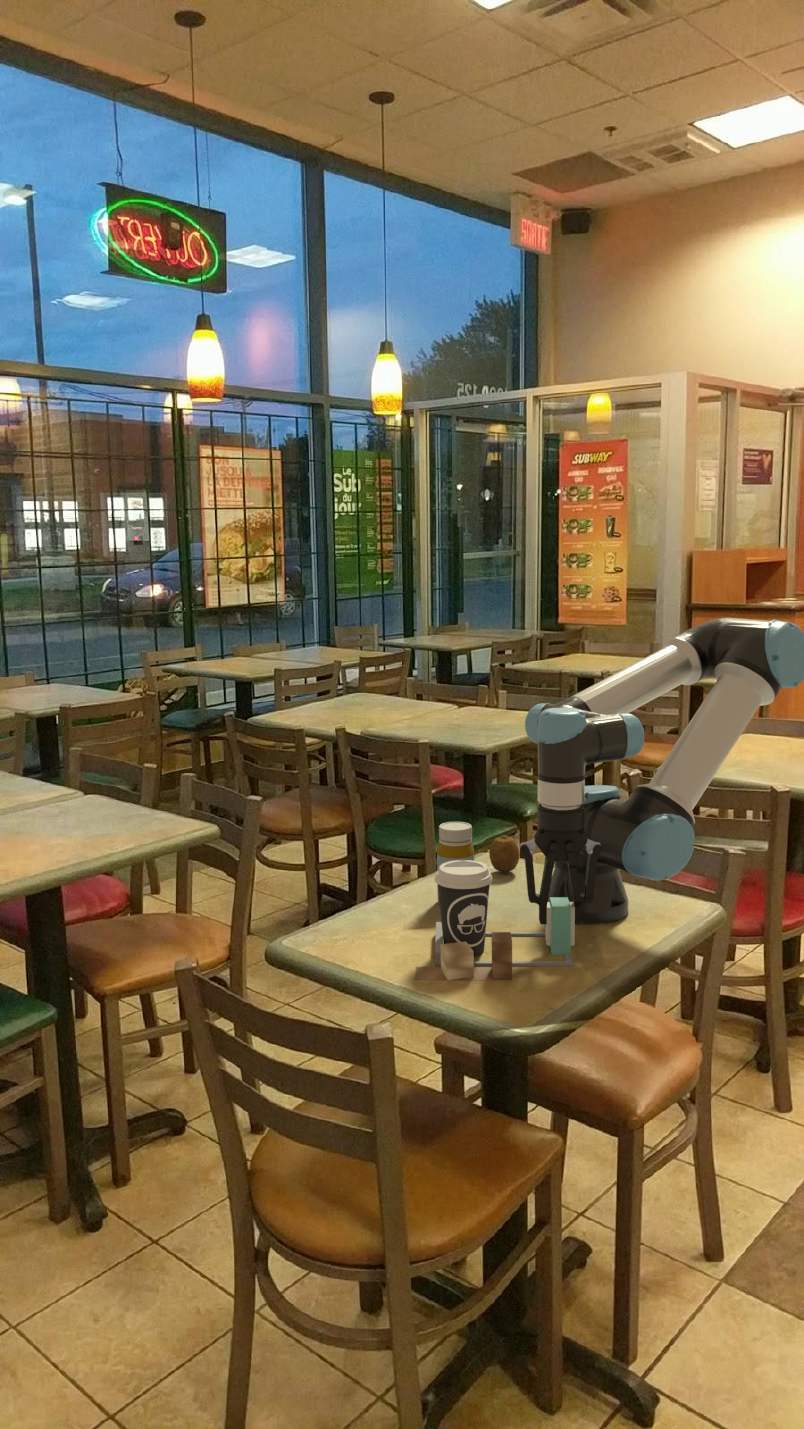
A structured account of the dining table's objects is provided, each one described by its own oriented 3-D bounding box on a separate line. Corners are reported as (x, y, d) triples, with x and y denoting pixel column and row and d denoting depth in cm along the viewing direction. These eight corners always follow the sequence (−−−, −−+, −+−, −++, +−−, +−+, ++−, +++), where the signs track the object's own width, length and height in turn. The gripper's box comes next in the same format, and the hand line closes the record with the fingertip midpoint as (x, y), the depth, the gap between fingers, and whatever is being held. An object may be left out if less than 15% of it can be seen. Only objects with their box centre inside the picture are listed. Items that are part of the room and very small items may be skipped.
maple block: (466, 966, 168) (466, 941, 167) (473, 977, 164) (473, 951, 163) (440, 969, 167) (440, 944, 166) (447, 980, 163) (447, 954, 162)
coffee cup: (500, 947, 177) (499, 861, 175) (482, 968, 169) (482, 879, 166) (446, 940, 181) (445, 856, 178) (427, 961, 172) (425, 872, 170)
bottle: (481, 900, 201) (480, 823, 198) (463, 911, 195) (462, 832, 192) (449, 894, 204) (448, 819, 202) (430, 904, 199) (429, 827, 196)
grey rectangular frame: (564, 938, 181) (564, 888, 179) (573, 970, 167) (574, 916, 166) (436, 938, 182) (435, 888, 180) (435, 970, 168) (434, 916, 167)
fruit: (520, 868, 219) (520, 831, 218) (518, 878, 213) (518, 839, 212) (490, 867, 220) (490, 830, 219) (487, 876, 214) (487, 838, 213)
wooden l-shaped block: (510, 971, 167) (510, 930, 166) (512, 984, 162) (512, 942, 161) (416, 971, 168) (415, 930, 167) (415, 984, 163) (414, 942, 162)
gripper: (608, 798, 173) (605, 934, 177) (509, 798, 174) (509, 933, 178) (614, 809, 166) (612, 951, 170) (511, 810, 167) (511, 950, 171)
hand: (559, 942), depth 174 cm, fingers closed on grey rectangular frame, 3 cm apart
